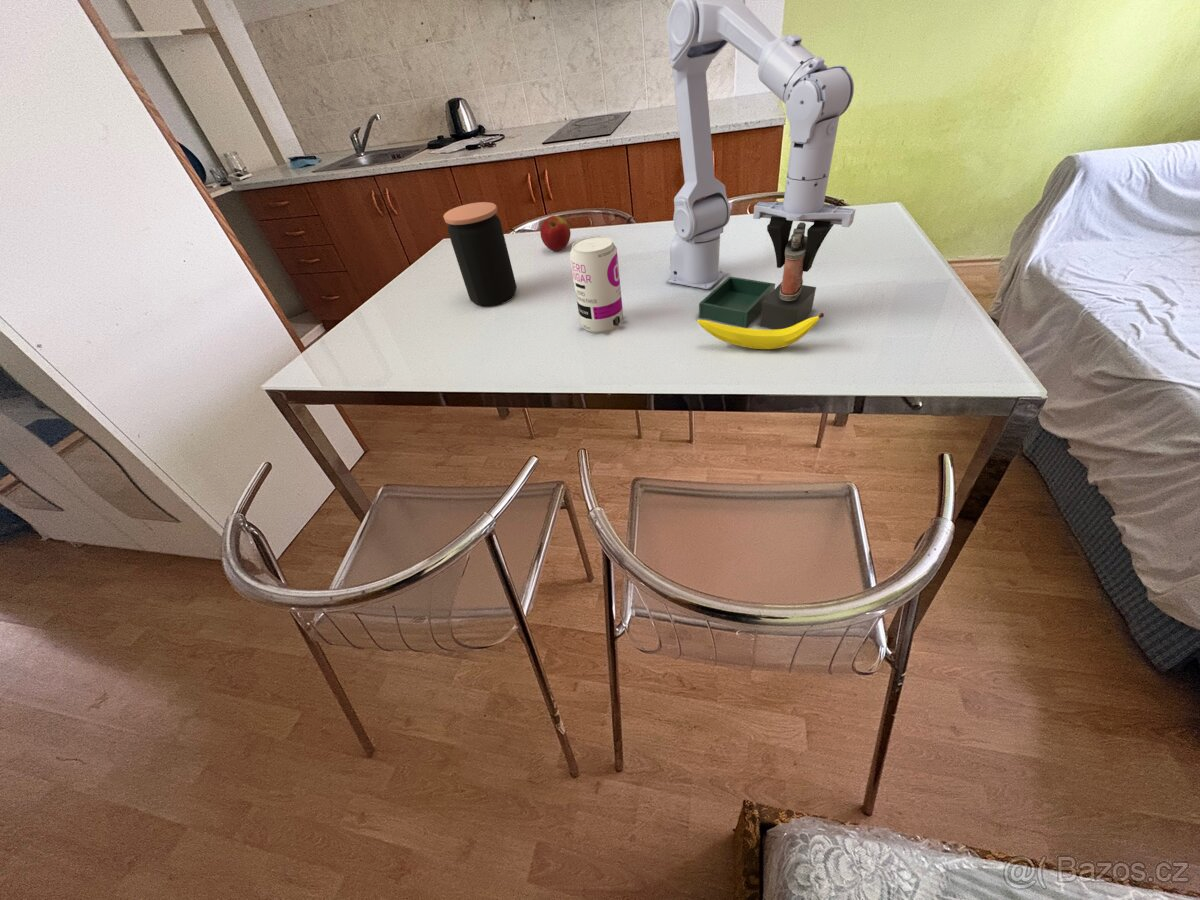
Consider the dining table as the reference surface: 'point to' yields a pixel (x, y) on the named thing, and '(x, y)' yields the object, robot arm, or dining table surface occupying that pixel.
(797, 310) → the stand
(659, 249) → the dining table surface
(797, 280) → the lighter
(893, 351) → the dining table surface
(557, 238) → the apple
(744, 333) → the banana
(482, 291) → the coffee jar
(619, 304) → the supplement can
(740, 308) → the tray
